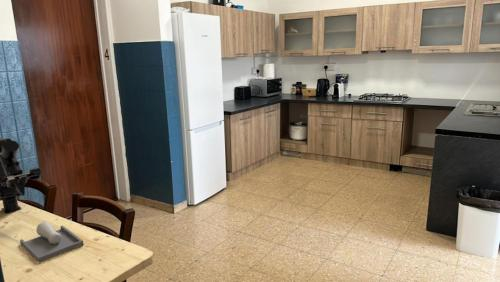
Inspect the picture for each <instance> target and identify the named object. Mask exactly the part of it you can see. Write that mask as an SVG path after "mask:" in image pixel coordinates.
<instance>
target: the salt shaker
mask: <svg viewBox="0 0 500 282" xmlns="http://www.w3.org/2000/svg"><path fill="white" fill-rule="evenodd" d="M56 231H57V230H55V228H54V225H53V224H52V223H51V222H49V221H41V222H40V223H38V224H37V226H36V234H37V235H38V236H39V237H40V236H42V237H44V238H46V239H48V240H49V242H50V243H51V244H57V243H59V242H60V240H61V235H60V234H59V233H57V232H56Z"/></svg>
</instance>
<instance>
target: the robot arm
mask: <svg viewBox="0 0 500 282" xmlns="http://www.w3.org/2000/svg"><path fill="white" fill-rule="evenodd" d="M19 149H20V145H19V143H18V142H17V141H15V140H12V139H11V138H2V137H0V202H2V207H1V211H2V212H3V213H5V214H8V213H11V212H15V211H19V210H21V209H22V207H21V206H20V205H19V200H18V197H19V196H22V197H23V196H25V192H26V188H25V187H26V184H27V183H28V180H31V181H35V180H39V179H41V176H42V173H43V171H42V169H41V168H40V167H35V168H34V167H33V168H30V169H29V172H26V173H23V172H24V171H23V169H22V168H21V165H20V162H19V161H18V158H17V156H18V153H19Z"/></svg>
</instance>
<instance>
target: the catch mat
mask: <svg viewBox="0 0 500 282" xmlns="http://www.w3.org/2000/svg"><path fill="white" fill-rule="evenodd" d="M55 231H56V232H57V233H59V234H60V235H61V240H60V242H59V243H57V244H51V243H50V242H49V240H48V239H46V238H44V237H42V236H40V235H39V236H37V237H34V238H32V239H29V240H26V241H25V240H24V239H23V238H21V239H19V243H20V245H21V246H22V247H23V248H24V249H25V250H26V252H28V253H29V254H30V255H31V256H32V257H33V258H34V260H36V261H37V262H38V264H40V263H42V262H45V261H47V260H50V259H52V258H55V257H57V256H60V255H62V254H64V253H65V254H66V253H67V252H70V251H72V250H74V249H77V248H80V247H83V246H84V240H83V239H81V238H80V237H79V236H77V235H76V234H75V233H73V232H72V231H71V230H69V229H68V228H66V226H64V225H60V229H58V230H55Z"/></svg>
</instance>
